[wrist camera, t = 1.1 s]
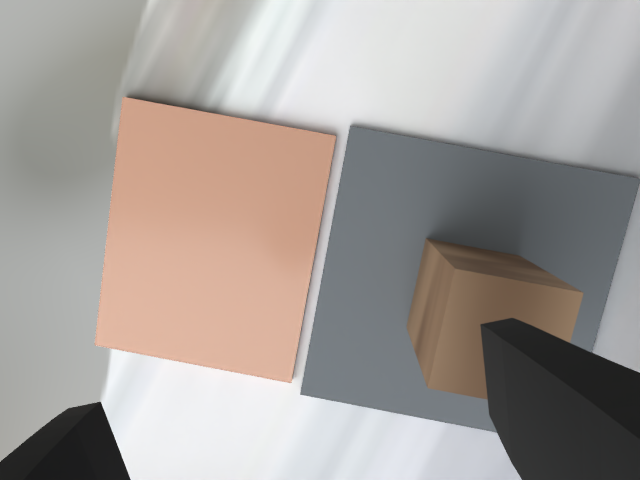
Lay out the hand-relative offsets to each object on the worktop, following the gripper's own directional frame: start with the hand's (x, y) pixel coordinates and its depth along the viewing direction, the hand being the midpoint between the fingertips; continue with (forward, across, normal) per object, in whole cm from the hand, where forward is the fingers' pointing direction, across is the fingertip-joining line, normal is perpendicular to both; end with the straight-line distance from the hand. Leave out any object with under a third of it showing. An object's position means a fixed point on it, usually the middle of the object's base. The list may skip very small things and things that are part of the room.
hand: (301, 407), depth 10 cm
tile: (+14, +4, +1) cm, 14 cm away
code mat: (+12, -7, +4) cm, 14 cm away
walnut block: (+12, -7, +4) cm, 14 cm away
